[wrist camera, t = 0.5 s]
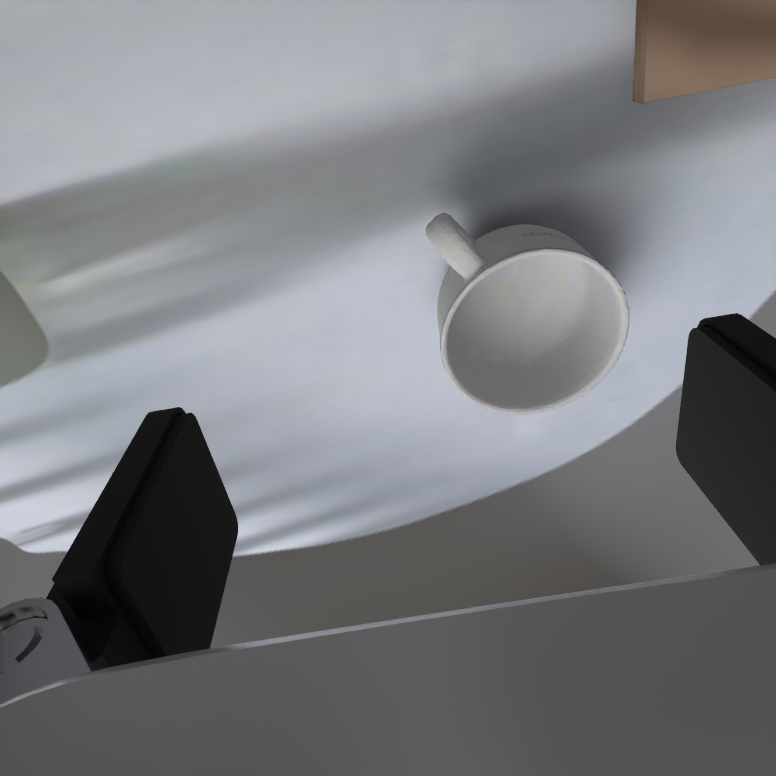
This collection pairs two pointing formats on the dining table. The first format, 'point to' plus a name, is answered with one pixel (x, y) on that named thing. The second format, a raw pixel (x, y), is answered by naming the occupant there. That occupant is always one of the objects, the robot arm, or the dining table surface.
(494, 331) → the teacup
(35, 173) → the dining table surface
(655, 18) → the duct board
